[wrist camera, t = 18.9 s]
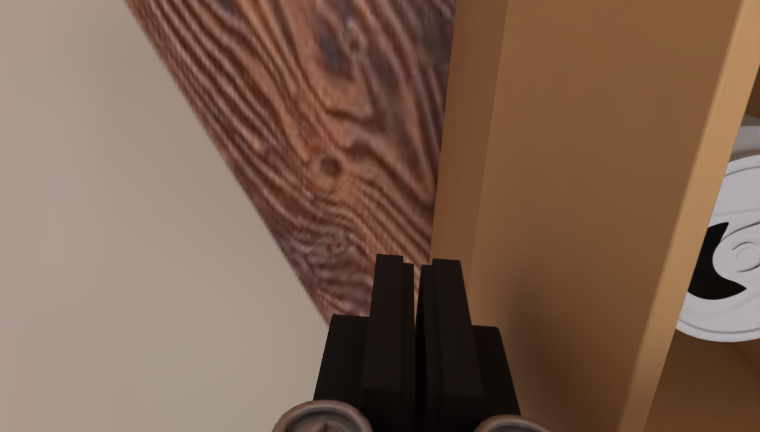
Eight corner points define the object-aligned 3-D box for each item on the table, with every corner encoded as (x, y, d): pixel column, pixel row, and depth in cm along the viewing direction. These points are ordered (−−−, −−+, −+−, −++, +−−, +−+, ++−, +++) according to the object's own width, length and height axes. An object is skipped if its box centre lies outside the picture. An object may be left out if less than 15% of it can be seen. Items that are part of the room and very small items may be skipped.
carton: (428, 264, 29) (443, 474, 17) (461, -51, 24) (521, -79, 11) (677, 282, 29) (875, 508, 17) (774, -31, 23) (1191, -37, 11)
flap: (452, 491, 16) (438, 492, 16) (538, -77, 11) (518, -80, 11) (534, 771, 11) (514, 775, 11) (826, -133, 5) (783, -137, 5)
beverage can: (514, 104, 25) (597, 202, 14) (655, 41, 24) (866, 95, 13) (560, 221, 28) (662, 384, 17) (692, 168, 26) (898, 308, 15)
